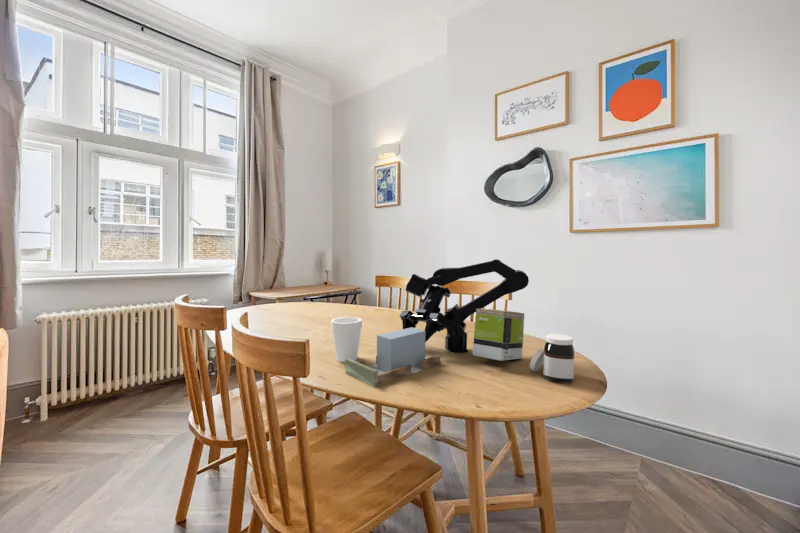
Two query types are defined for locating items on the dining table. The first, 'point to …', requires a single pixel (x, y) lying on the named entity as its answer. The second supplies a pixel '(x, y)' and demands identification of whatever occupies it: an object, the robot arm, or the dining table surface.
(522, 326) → the tea box
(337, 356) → the foam cup
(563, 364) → the spread jar
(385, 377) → the lane
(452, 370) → the dining table surface
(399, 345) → the slate box
